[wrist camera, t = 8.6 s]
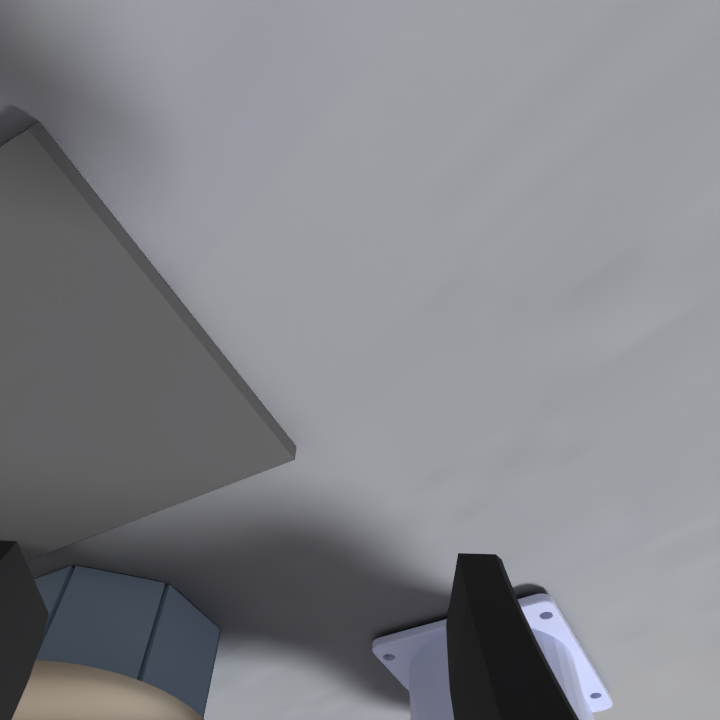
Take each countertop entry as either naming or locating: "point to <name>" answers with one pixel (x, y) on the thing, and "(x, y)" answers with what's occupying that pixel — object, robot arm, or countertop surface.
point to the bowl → (129, 631)
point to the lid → (94, 696)
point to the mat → (103, 369)
